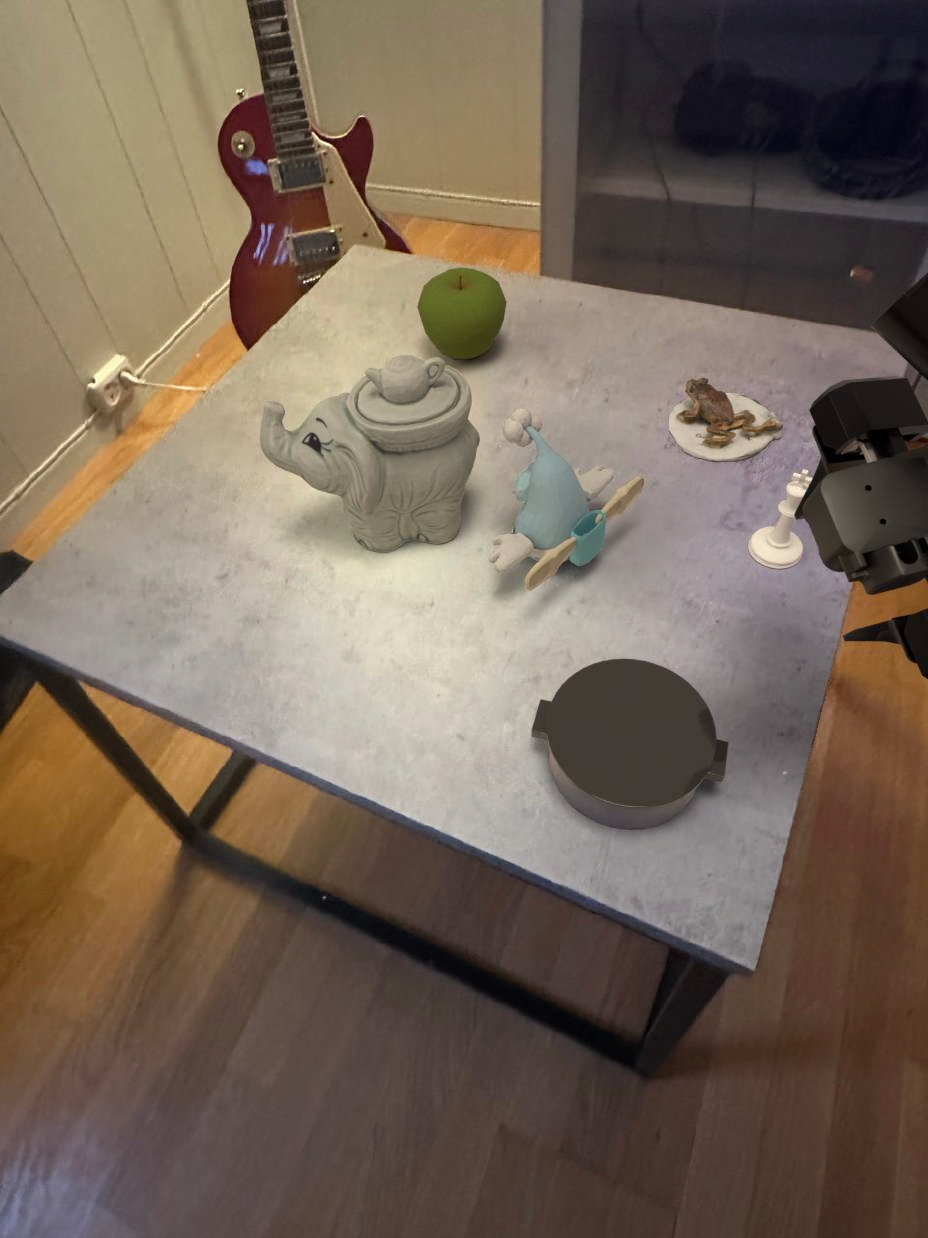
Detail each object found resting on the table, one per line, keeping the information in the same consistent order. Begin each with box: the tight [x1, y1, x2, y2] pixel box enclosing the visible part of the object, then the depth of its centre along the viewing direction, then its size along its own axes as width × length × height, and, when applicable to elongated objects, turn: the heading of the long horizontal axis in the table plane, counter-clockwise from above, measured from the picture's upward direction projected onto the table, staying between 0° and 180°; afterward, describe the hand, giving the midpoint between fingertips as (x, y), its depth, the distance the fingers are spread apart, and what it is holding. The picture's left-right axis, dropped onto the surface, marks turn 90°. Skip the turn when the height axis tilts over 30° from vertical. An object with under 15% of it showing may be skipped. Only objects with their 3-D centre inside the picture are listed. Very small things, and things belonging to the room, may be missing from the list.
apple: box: [416, 267, 507, 360], centre depth 92 cm, size 11×10×10 cm
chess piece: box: [747, 469, 813, 570], centre depth 69 cm, size 5×5×10 cm
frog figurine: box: [667, 377, 784, 462], centre depth 82 cm, size 12×12×4 cm
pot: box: [530, 658, 729, 830], centre depth 59 cm, size 15×13×5 cm
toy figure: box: [488, 408, 645, 591], centre depth 69 cm, size 17×10×15 cm, turn 136°
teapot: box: [259, 354, 481, 553], centre depth 71 cm, size 16×15×19 cm
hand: (823, 575), depth 53 cm, fingers open, 9 cm apart
